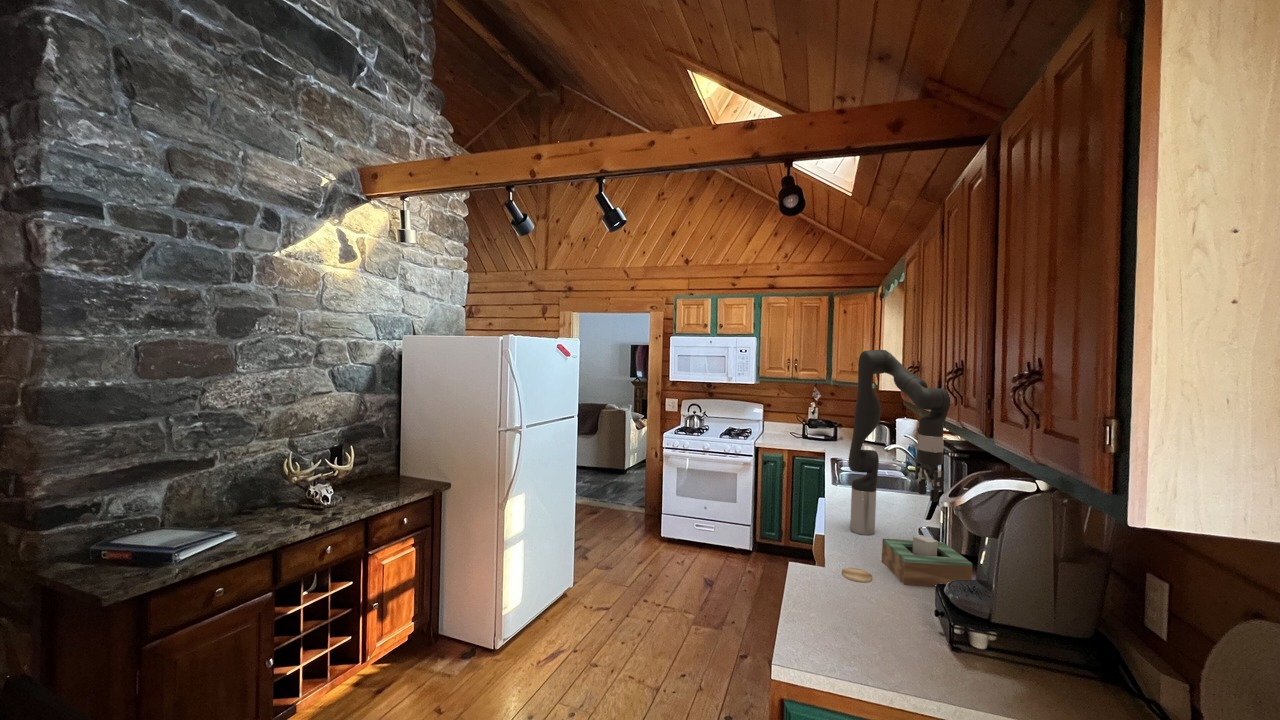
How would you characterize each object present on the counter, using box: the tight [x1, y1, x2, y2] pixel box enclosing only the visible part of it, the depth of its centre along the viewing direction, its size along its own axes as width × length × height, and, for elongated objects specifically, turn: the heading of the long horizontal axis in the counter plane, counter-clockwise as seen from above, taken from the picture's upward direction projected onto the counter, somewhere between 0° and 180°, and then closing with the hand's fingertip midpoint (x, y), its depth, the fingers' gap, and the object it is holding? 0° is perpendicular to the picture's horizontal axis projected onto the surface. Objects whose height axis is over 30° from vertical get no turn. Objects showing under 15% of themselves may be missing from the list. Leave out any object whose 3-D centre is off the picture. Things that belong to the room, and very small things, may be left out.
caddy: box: [881, 538, 973, 588], centre depth 167 cm, size 18×20×8 cm
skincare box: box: [912, 534, 939, 556], centre depth 167 cm, size 6×4×12 cm
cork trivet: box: [841, 567, 873, 583], centre depth 164 cm, size 9×9×1 cm
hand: (927, 497), depth 168 cm, fingers open, 8 cm apart
